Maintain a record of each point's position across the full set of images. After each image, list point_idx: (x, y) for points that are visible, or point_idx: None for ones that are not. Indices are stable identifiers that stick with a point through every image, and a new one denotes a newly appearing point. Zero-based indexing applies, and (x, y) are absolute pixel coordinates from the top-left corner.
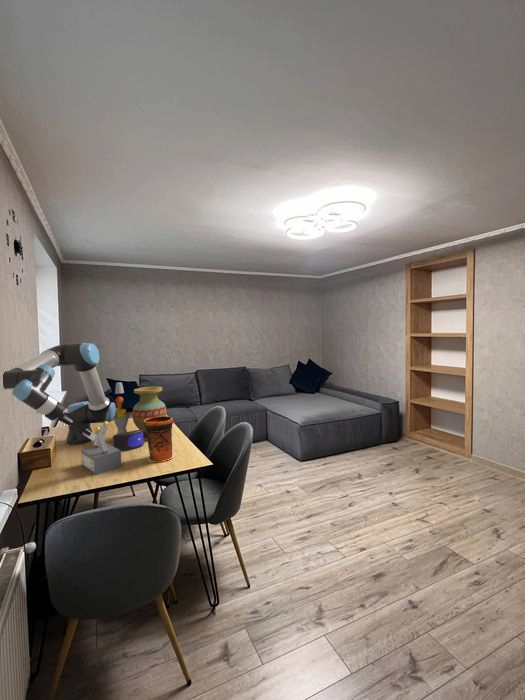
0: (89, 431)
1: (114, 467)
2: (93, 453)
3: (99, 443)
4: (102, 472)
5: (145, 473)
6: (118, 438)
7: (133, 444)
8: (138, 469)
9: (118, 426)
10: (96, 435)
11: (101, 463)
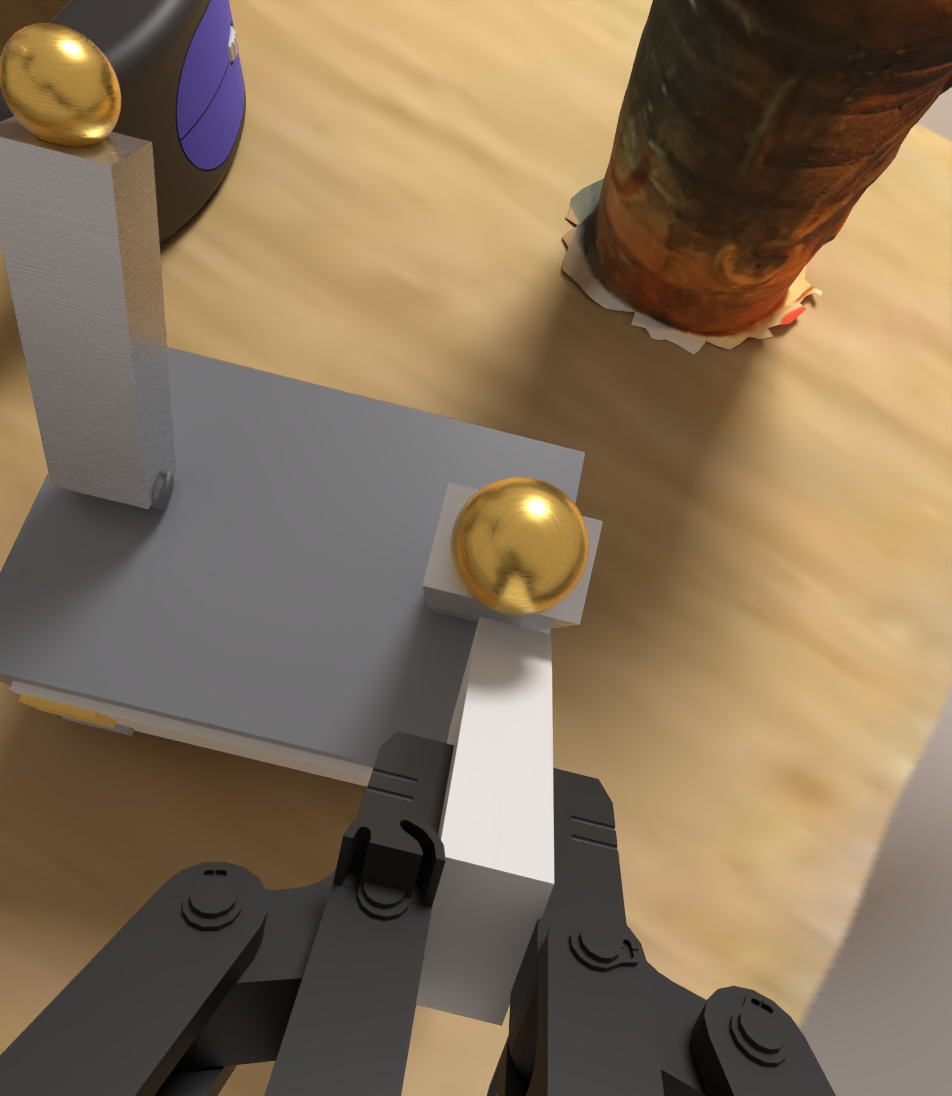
0: (548, 790)
1: None
2: (336, 688)
3: (460, 610)
4: None
5: (900, 554)
6: None
7: (221, 132)
8: (756, 515)
9: None
10: (549, 649)
11: None
